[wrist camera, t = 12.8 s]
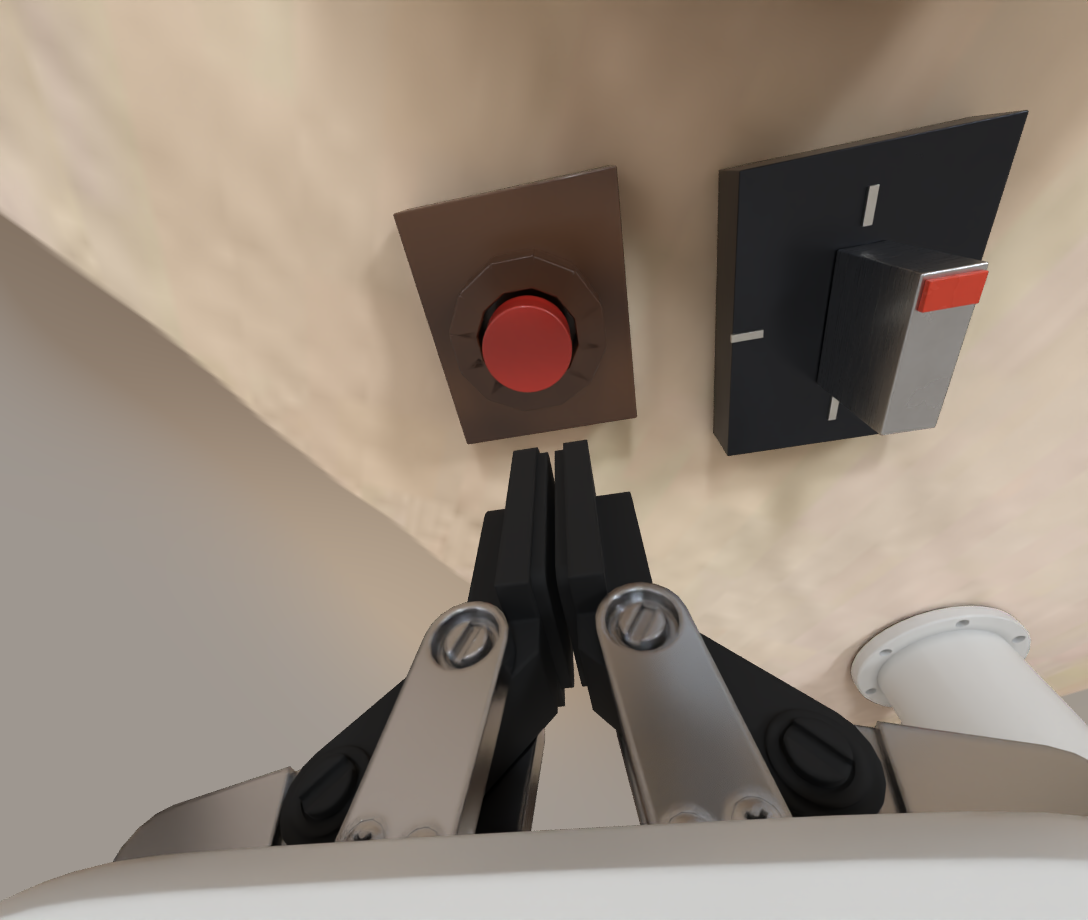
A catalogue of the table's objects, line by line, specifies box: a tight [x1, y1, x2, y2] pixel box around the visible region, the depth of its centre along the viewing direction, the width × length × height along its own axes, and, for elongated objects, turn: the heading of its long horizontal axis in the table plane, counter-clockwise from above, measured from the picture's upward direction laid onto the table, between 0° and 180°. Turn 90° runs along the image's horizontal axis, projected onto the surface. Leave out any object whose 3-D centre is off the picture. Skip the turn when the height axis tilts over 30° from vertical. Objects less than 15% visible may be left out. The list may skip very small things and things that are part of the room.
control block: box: [394, 166, 637, 444], centre depth 21 cm, size 11×9×4 cm
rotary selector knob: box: [817, 240, 989, 435], centre depth 18 cm, size 6×2×5 cm, turn 11°
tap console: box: [713, 110, 1029, 456], centre depth 21 cm, size 13×10×3 cm
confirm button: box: [482, 295, 572, 392], centre depth 19 cm, size 4×4×2 cm
